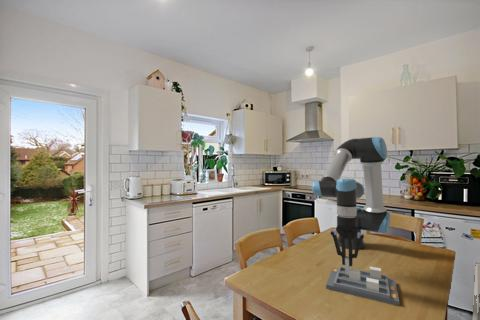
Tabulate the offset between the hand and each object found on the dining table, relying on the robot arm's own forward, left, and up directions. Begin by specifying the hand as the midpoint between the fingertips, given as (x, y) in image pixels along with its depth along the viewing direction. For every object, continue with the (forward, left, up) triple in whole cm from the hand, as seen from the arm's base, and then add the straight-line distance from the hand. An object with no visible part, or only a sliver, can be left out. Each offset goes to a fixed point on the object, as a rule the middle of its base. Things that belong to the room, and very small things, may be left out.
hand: (347, 273), depth 98 cm
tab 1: (0, +3, -2) cm, 4 cm away
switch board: (0, +5, -4) cm, 6 cm away
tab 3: (+6, +9, -2) cm, 11 cm away
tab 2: (-6, +10, -2) cm, 12 cm away
